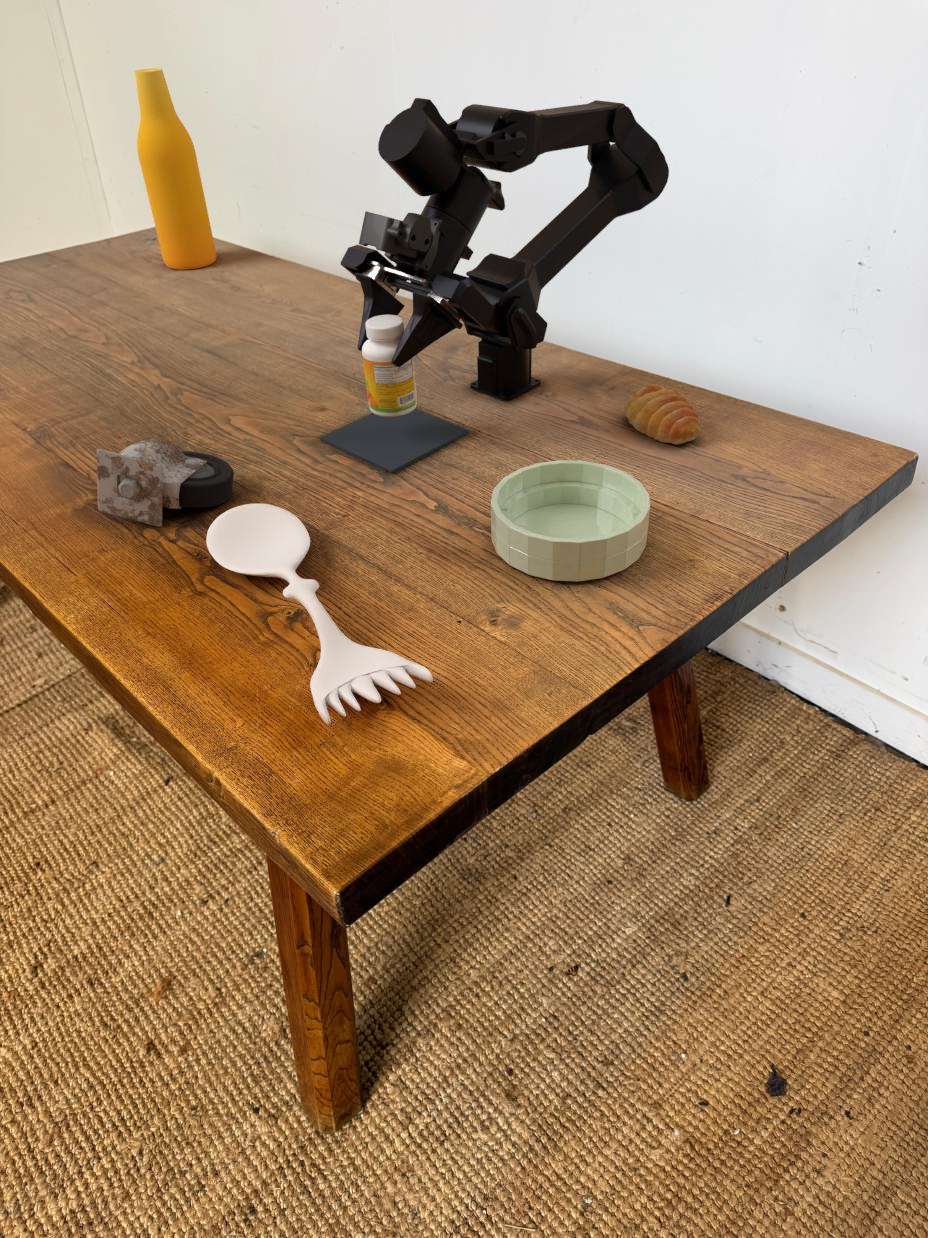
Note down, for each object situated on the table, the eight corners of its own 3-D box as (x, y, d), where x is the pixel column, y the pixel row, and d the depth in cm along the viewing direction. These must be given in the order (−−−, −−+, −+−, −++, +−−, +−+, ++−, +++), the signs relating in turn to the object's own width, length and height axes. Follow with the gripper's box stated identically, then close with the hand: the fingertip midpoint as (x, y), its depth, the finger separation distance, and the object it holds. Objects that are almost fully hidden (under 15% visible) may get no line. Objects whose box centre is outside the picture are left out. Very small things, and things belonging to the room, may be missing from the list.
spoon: (328, 752, 62) (322, 718, 60) (197, 541, 84) (189, 510, 82) (440, 705, 66) (437, 670, 64) (286, 514, 88) (280, 483, 86)
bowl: (556, 485, 90) (557, 445, 87) (675, 534, 82) (680, 492, 79) (461, 544, 82) (459, 503, 79) (582, 605, 74) (585, 561, 72)
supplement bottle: (373, 396, 100) (363, 311, 94) (420, 396, 100) (412, 311, 94) (365, 418, 96) (354, 331, 90) (414, 418, 95) (406, 330, 89)
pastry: (715, 439, 96) (720, 407, 94) (664, 454, 94) (668, 421, 92) (665, 406, 103) (668, 375, 101) (616, 420, 101) (618, 389, 99)
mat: (396, 404, 107) (396, 401, 106) (469, 433, 100) (469, 429, 100) (320, 440, 100) (319, 437, 100) (392, 473, 93) (391, 470, 93)
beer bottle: (191, 273, 150) (147, 75, 132) (153, 266, 154) (104, 72, 136) (228, 257, 156) (191, 66, 138) (190, 251, 160) (149, 64, 142)
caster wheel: (243, 502, 95) (203, 542, 86) (143, 476, 95) (94, 513, 87) (247, 444, 91) (206, 479, 83) (144, 418, 92) (93, 449, 83)
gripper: (342, 162, 91) (273, 299, 92) (467, 189, 80) (387, 344, 81) (406, 225, 100) (343, 349, 101) (527, 256, 89) (454, 395, 90)
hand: (377, 357), depth 93 cm, fingers closed on supplement bottle, 5 cm apart
